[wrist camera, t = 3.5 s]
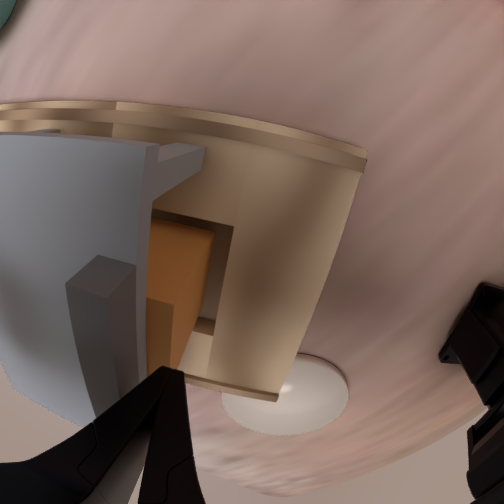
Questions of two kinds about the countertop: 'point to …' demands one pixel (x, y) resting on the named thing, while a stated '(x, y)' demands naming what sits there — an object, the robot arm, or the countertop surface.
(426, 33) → the countertop surface
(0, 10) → the cupcake
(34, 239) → the grey toy table
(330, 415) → the dish
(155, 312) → the block
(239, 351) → the board
